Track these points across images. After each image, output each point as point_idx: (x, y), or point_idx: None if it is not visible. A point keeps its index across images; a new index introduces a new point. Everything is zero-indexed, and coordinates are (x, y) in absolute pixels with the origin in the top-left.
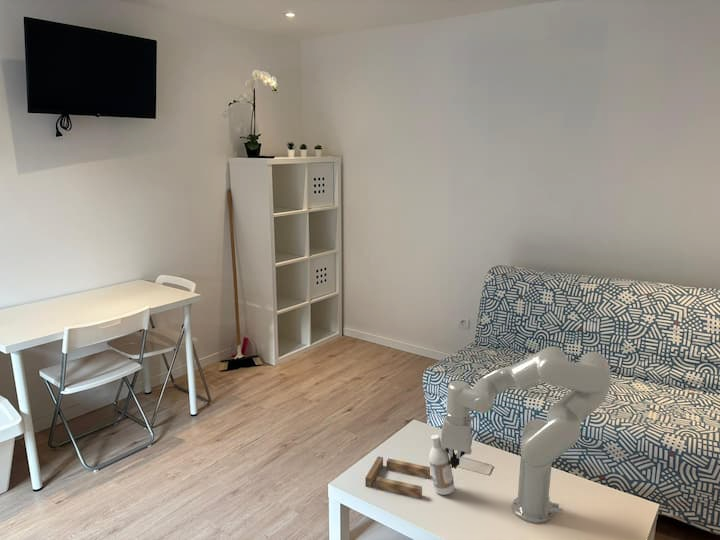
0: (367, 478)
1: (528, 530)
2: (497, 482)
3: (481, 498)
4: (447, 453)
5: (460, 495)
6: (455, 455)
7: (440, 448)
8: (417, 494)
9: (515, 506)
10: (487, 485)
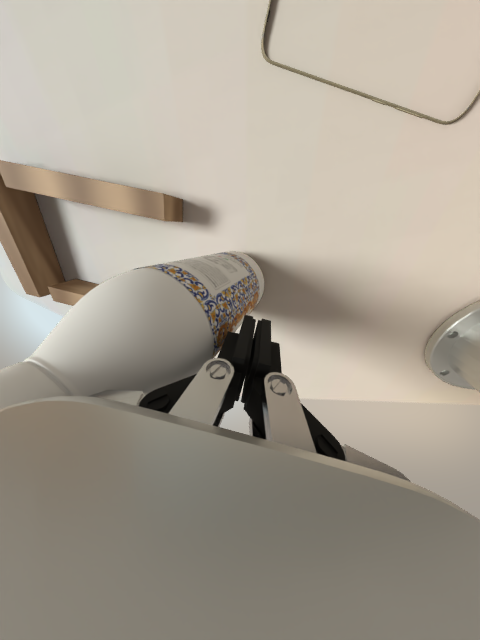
0: (33, 294)
1: (423, 396)
2: (464, 189)
3: (345, 301)
4: (186, 361)
5: (282, 294)
6: (250, 354)
7: None
8: None
9: (444, 346)
10: (399, 223)
